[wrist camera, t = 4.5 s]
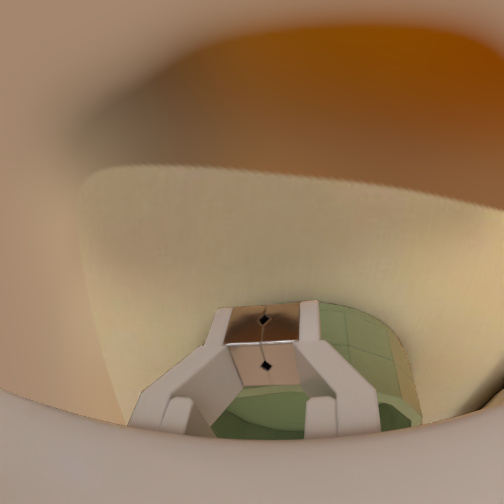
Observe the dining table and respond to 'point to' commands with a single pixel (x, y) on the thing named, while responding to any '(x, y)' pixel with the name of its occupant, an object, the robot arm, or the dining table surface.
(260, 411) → the bowl
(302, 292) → the dining table surface
